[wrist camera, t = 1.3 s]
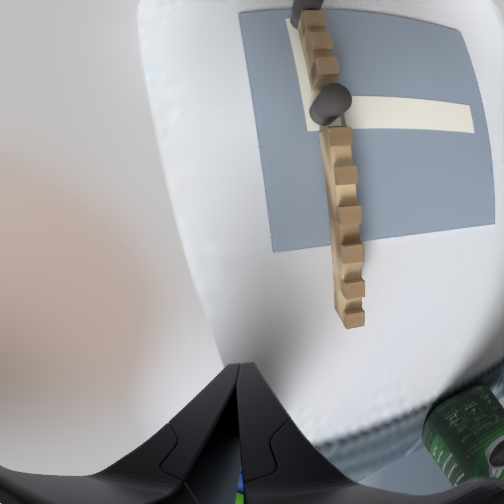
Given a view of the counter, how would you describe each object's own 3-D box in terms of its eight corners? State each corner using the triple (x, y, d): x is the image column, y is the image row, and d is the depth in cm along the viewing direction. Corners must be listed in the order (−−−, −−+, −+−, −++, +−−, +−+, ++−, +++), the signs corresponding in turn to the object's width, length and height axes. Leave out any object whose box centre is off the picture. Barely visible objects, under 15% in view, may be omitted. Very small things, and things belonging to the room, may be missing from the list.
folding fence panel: (318, 133, 17) (329, 124, 14) (336, 132, 17) (350, 123, 14) (334, 308, 20) (346, 329, 17) (350, 305, 20) (364, 325, 17)
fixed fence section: (311, 15, 16) (320, -15, 12) (336, 126, 18) (354, 112, 14) (287, 15, 16) (292, -15, 12) (310, 127, 18) (323, 113, 14)
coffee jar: (414, 445, 25) (464, 557, 7) (424, 404, 23) (497, 534, 5) (475, 416, 24) (535, 507, 6) (490, 373, 22) (572, 468, 4)
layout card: (458, 33, 15) (460, 31, 14) (492, 223, 19) (495, 224, 18) (238, 15, 16) (238, 13, 16) (273, 251, 20) (273, 252, 20)
